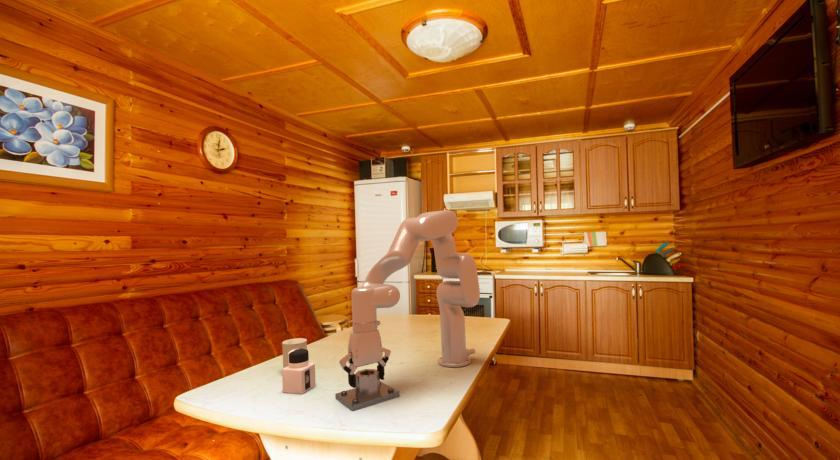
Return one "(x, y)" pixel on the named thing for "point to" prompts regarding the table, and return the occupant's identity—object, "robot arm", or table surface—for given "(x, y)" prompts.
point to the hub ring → (367, 382)
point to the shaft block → (358, 402)
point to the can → (292, 347)
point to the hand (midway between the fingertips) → (367, 382)
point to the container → (298, 372)
